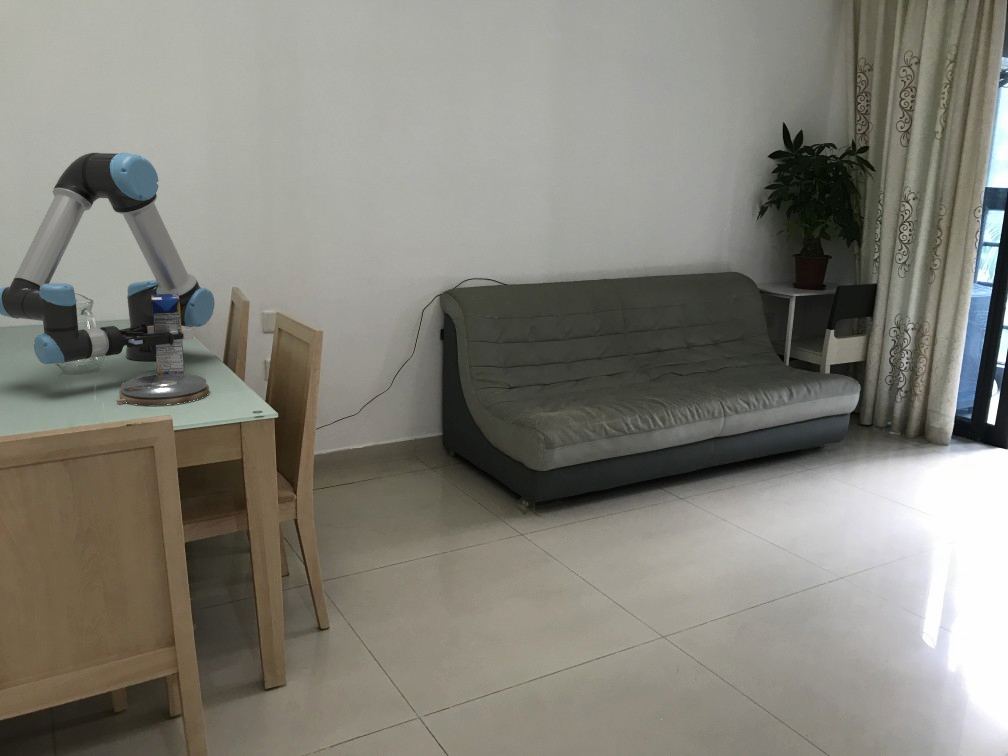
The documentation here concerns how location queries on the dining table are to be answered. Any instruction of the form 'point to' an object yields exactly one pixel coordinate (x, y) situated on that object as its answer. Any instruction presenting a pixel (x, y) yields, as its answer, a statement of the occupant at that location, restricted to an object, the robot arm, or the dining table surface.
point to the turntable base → (162, 401)
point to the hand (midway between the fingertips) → (180, 331)
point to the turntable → (163, 386)
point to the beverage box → (165, 322)
